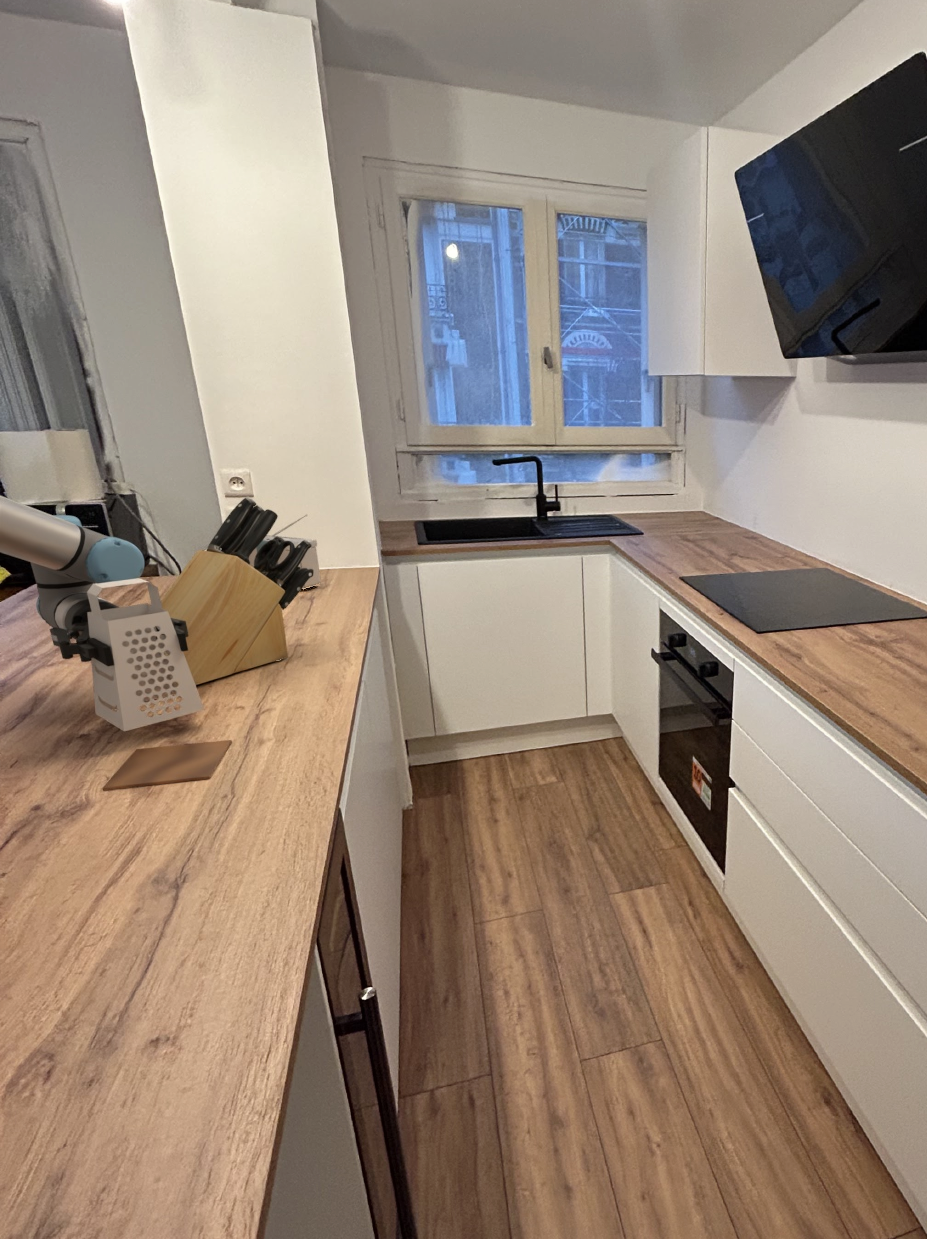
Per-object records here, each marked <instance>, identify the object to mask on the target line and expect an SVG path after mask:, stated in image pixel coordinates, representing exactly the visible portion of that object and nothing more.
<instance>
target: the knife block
mask: <svg viewBox="0 0 927 1239" xmlns="http://www.w3.org/2000/svg"><path fill="white" fill-rule="evenodd" d="M278 518H279V516H278V514H277V513H276V512H275V511H273V510H271V509H269V508H268V509H264V508H263V507H261V506H260V505H258V504H257V503H256V501H255V500H253V499H252V498H251V497H250V496H246V497H244V498H242V500H241V501H239V502H238V503H237V505H236V506H235V507H234V508H233V509H232V511H231V512H230V513H229V514H228V516H227V517H226V518H225V519H224V521H223V523H221V526H220V527H219V528H218V530H217V531H216V533H215V535H214V536H213V537H212V539H211V541H210V542H209V544H208V546H207V548H206V550H202V549H198V550H197V551H195V553H194V555H193V556H192V557H191V558H190V560H189V561H188V563H187V564H186V565H185V567H184V568H183V570H182V571H181V572H180V574H179V575H178V576H177V578H176V579H175V580H174V582H173V583H172V585H171V587H170V588H169V589H168V590H167V592H166V593H165V595H164V596H163V597H162V599H160V601H161V605H162V609H163V610H166V611H168V613H169V616H170V618H174V619H179V620H183V621H186V625H187V630H188V635H189V636H188V637H186V642H187V646H188V651H183V653H184V656H185V658H186V661H187V664H188V666H189V669H190V672H191V674H192V677H193V680H194V682H195V685H196V686H197V685H201V684H204V683H208V682H210V681H213V680H217V679H220V678H224V677H227V676H230V675H233V674H236V673H239V672H242V671H245V670H250V669H252V668H256V667H259V666H262V665H266V664H269V663H273V662H277V661H276V660H280V659H282V660H283V659H286V658H288V657H289V654H288V645H287V639H286V638H287V637H286V630H285V623H284V615H283V611H284V610H285V609H287V608H288V606H290V604H291V603H292V602H293V601H294V599H295V598H296V597H297V596H298V595H299V593H300V592H301V591H302V590H301V589H302V588H303V586H304V585H305V583H306V582H307V581H308V579H309V578H311V577H312V576H313V573H314V570H313V569H307V568H301V569H300V567H298V566H299V564H300V563H301V561H302V559H303V558H304V556H305V554H306V552H307V551H308V549H309V548H310V547H312V545H311V544H310V543H309V542H308V541H306V540H303V541H302V542H301V543H300V544H298V545H297V547H296V548H295V546H294V544H293V543H292V542H291V541H284V540H283V539H282V538H281V537H279V536H280V535H275V536H276V537H275V538H274V539H272V540H270V541H268V542H267V543H265V544H264V545H263V546H262V547H261V548H260V550H259V551H258V553H257V554H256V556H255V559H254V567H252V566H250V561H249V556H250V554H251V553H252V552H253V550H254V549H255V548H256V547H257V546H258V545H259V544H260V543H261V542H262V541H263V539H264V538H265V537H266V535H269V533H270V532H271V529H272V528H273V527H274V525H275V523H276V521H277V519H278ZM287 546H290V552H289V554H288V556H287V557H286V558H285V559H284V560H283V561H282V562H281V563H280V564H277V562H278V560H279V558H280V556H281V555H282V553H283V551H284V549H285V548H286V547H287ZM276 564H277V565H276ZM262 572H266V573H267V572H268V573H267V575H266V573H262ZM265 575H266V576H265ZM164 653H165V655H166V656H169V655H167V654H166V652H165V651H164ZM280 661H281V660H280ZM175 683H176V684H177V685H179V684H178V682H175Z"/></svg>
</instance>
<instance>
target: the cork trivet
mask: <svg viewBox="0 0 927 1239" xmlns="http://www.w3.org/2000/svg"><path fill="white" fill-rule="evenodd" d="M232 744H233V740H232V739H226V740H217V741H216V740H215V741H207V742H206V741H204V742H195V743H185V744H175V745H174V744H173V745H163V746H153V747H144V748H136V749H135V750H134V751H133V752H132V753H131V754H130V755H129V757H128V758H127V759H126V760H125V761H124V763H123V764H121V766H120V767H119V768H118V769H117V771H116V772H115V773H113V775H112V776H111V777H110V778H109V780H107V782H106V783H105V784H104V785H103V787H102V791H109V790H110V791H111V790H119V789H120V790H121V789H128V788H138V787H147V786H157V785H165V784H175V783H181V782H182V783H183V782H192V781H201V780H209V779H211V778H212V777H213V774H214V773H215V771H216V769H217V768H218V767H219V765H220V763H221V761H222V760H223V758H224V756H225V755H226V753H227V752H228V749H229V748H230V746H231V745H232ZM222 757H223V758H222ZM221 759H222V760H221Z"/></svg>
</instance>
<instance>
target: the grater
mask: <svg viewBox="0 0 927 1239" xmlns="http://www.w3.org/2000/svg"><path fill="white" fill-rule="evenodd" d="M144 583H145V584H146V586H147V590H148V595H149V599H150V603H146V602H145V603H138V604H132V605H126V606H121V607H120V606H118V607H119V608H112V609H106V610H100V606H99V602H98V598H97V596H98V595H99V594H100V593H101V591H102V590H103V589H104V588H105V589H106V588H114V587H115V586H122V585H127V586H130V585H135V584H144ZM129 584H130V585H129ZM122 587H123V586H122ZM87 595H88V599H89V603H90V607H91V611H92V612H87V613H88V626H89V637H90V638H95V639H97V640H99V641H100V642H102V643H104V644H106V645H108V646H109V647H110V649H111V653H112V657H113V662H114V665H113V666H106V665H105V664H103V663H101V662H100V661H98V660H96V659H95V658H91V659H92V660H91V661H90V662H91V673H92V685H93V686H92V688H93V698H94V710H95V715H97V716H98V717H100V718H102V719H103V720H105V721H107V722H108V723H110V724H111V725H112V726H114V727H116V728H118V729H120V730H121V731H123V732H126V731H127V732H128V731H131V730H135V729H138V728H143V727H146V726H150V725H154V724H158V723H161V722H164V721H169V720H173V719H177V718H179V717H183V716H187V715H192V714H194V713H199V712H203V711H205V710H206V709H205V706H204V704H203V702H202V701H203V700H202V699H201V696H200V693H199V691H198V687H197V685H195V682H194V680H193V677H192V674H191V672H190V669H189V666H188V664H187V661H186V658H185V656H184V653H183V652H182V651H181V649H180V645H179V641H178V637H177V634H176V632H175V629H174V626H173V624H172V621H171V618H170V616H169V613H168V611H166V610H163V609H162V605H161V595H160V593H159V587H158V586H156V585H155V584H154V583H152V582H150V581H148V580H146V579H143V578H141V577H139V578H136V579H128V580H121V581H113V582H105V583H98V584H97V583H96V584H93V585H92V586H91V587H90V589H89V590H88V591H87ZM155 626H156V627H157V628H158V629H159V630H160V631H157V630H156V627H155ZM161 634H165V635H161ZM156 636H157V639H156ZM164 651H165V652H166V654H167V655H169V656H166V655H165V653H164ZM175 682H178V684H179V685H177V684H176V683H175ZM177 697H179V698H180V699H181V700H180V701H177ZM169 699H172V700H173V702H172V703H169V702H168V700H169ZM160 701H163V702H164V704H163V705H159V703H160ZM151 704H155V706H154V707H153V708H151V707H150V705H151ZM142 706H145V707H146V709H145V710H141V709H140V708H141V707H142ZM176 706H180V707H179V709H175V707H176ZM167 708H171V711H170V712H167V711H166V709H167ZM114 710H116V711H114ZM158 710H162V712H161V714H158V713H157V711H158ZM150 712H152V713H153V716H148V713H150Z"/></svg>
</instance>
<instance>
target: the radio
mask: <svg viewBox="0 0 927 1239" xmlns="http://www.w3.org/2000/svg"><path fill="white" fill-rule="evenodd" d="M305 517H308V514H307V513H306V514H305V515H303V516H301V517H300V518H299V519H297V520H295V521H293V522H291V523H289V524H288V525H287V526H285V527H282V529H279V531H277V532H275V533H274V534H271V535H269V534H267V535H266V537H265V538H264V539H263V541H262V542H261V543H260V544H259V545H258V546H257V547H256V548H255V549H254V550H253V552H252V553H251V554H250V556H249V561H250V566H252V567H254V559H255V556H256V554H257V553H258V551H259V550H260V548H261V547H262V546H263V545H264V544H265V543H267V542H268V541H270V540H272V539H274V538H275V537H276V536H279V537H281V538H282V539H283V540H284V541H291V542H292V543H293V544H294V546H295V548H296V547H297V545H298V544H300V543H301V542H302V541H303V540H306V541H308V542H309V543H310V544H311V545H312V547H310V548H309V549H308V551H307V552H306V554H305V556H304V558H303V559H302V561H301V563H300V564H299V566H298V567H300V569H301V568H307V569H313V570H314V573H313V576H312V577H311V578H309V579H308V581H307V582H306V583H305V585H304V586H303V588H306V587H309V586H313V585H316V584H319V583H320V584H322V579H321V578H322V577H321V572H320V565H319V558H318V550H317V547H318V542H317V539H311V538H301V537H291V536H282V535H279V534H281V533H282V532H283V531H286V530H287V529H289V528H290V527H292V526H293V525H294V524H296V523H297V522H300V521H301V520H302V519H304V518H305ZM289 552H290V546H287V547H286V548H285V549H284V551H283V553H282V555H281V556H280V558H279V560H278V562H277V564H280V563H281V562H282V561H283V560H284V559H285V558H286V557H287V556H288V554H289ZM277 564H276V565H277ZM262 573H266V572H262ZM267 573H268V572H267ZM267 573H266V575H267ZM266 575H265V576H266Z"/></svg>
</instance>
